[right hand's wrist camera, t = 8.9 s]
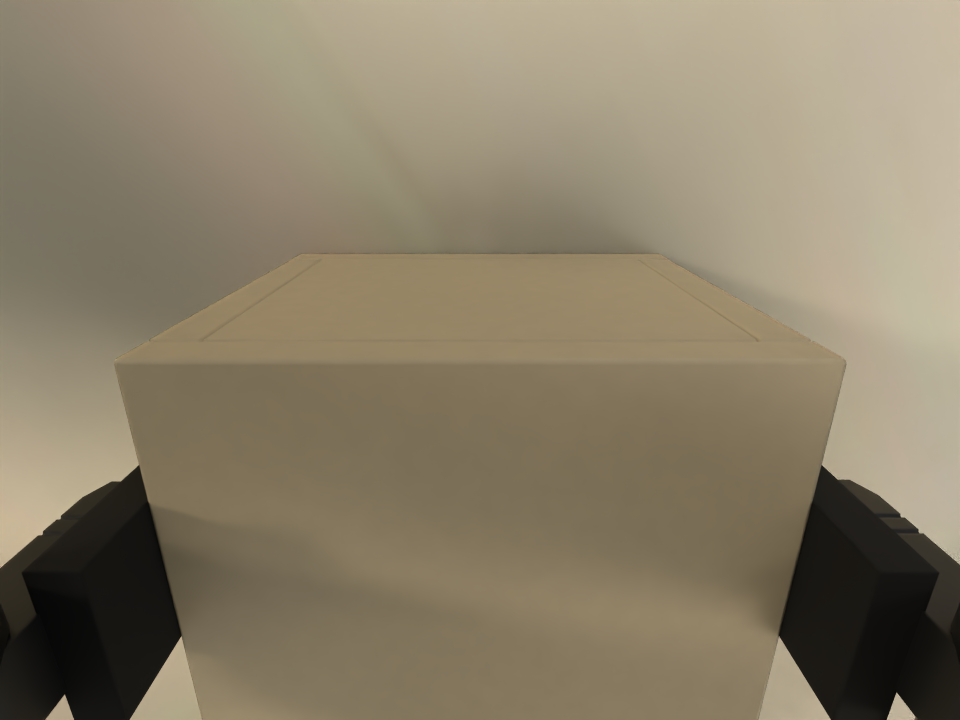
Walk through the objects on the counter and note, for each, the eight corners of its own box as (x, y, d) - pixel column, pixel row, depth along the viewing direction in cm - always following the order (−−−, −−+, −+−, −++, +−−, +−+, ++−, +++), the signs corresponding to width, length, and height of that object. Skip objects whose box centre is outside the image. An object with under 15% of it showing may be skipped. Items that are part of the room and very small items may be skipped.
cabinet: (605, 737, 23) (675, 1061, 14) (354, 737, 23) (285, 1061, 14) (659, 253, 16) (850, 359, 8) (300, 253, 16) (109, 359, 8)
